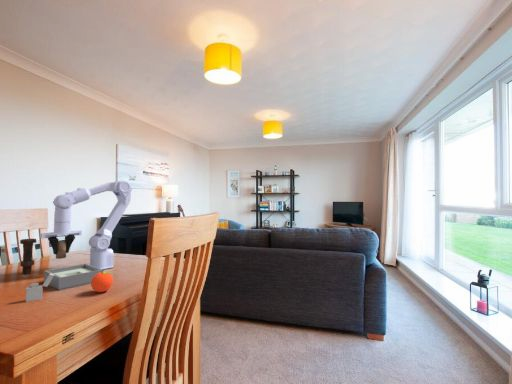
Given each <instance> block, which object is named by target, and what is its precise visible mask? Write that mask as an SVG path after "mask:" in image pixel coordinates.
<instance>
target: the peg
mask: <svg viewBox="0 0 512 384" xmlns="http://www.w3.org/2000/svg"><path fill="white" fill-rule="evenodd" d="M66 246H67V241H65V240H62V241H61V240H60V241H59V240H58V246H57V254H55V259H56V260H58V259H59V260H60V259H66V258H67V253H66Z"/></svg>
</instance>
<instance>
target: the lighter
mask: <svg viewBox="0 0 512 384" xmlns="http://www.w3.org/2000/svg"><path fill="white" fill-rule="evenodd" d="M53 276H54V274H52V273H49V275H48V277H47V278H46V280H45V282H44V281H43V283H42V284H40V285H39V282H34V283H30V284H29V285H28V286H26V288H25V303H27V302H29V303H30V302H33V301H39V300H43V291H44V290H43V287H45V288H48V286H50V285H49V283H50V282H51V280H52V278H53Z"/></svg>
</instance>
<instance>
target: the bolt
mask: <svg viewBox="0 0 512 384" xmlns="http://www.w3.org/2000/svg"><path fill="white" fill-rule="evenodd" d="M19 243H20V244H21V245H22V247H23V248H22V261H20V267H22V271H21V272H22V273H21V274H22V275H29V274H31V273H32V268H33V267H32V266H34V265H35V260H34V259H33V250H34V249H33V248H34V244H36V243H37V239H36V238H23V239H20V240H19Z"/></svg>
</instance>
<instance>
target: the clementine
mask: <svg viewBox="0 0 512 384" xmlns="http://www.w3.org/2000/svg"><path fill="white" fill-rule="evenodd" d="M111 274H112V272H110V271H103V272H101V273H98V274H96V275H95V276H94V277H93V279H92V281H91V283H90V287H91V288H92V290H93V291H94V292H97V293H104V292H107V291H108V290H110V288H111V287H112V286H113V282H114V278H113V276H112V275H111ZM113 275H114V276H116V275H115V274H114V273H113Z"/></svg>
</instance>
